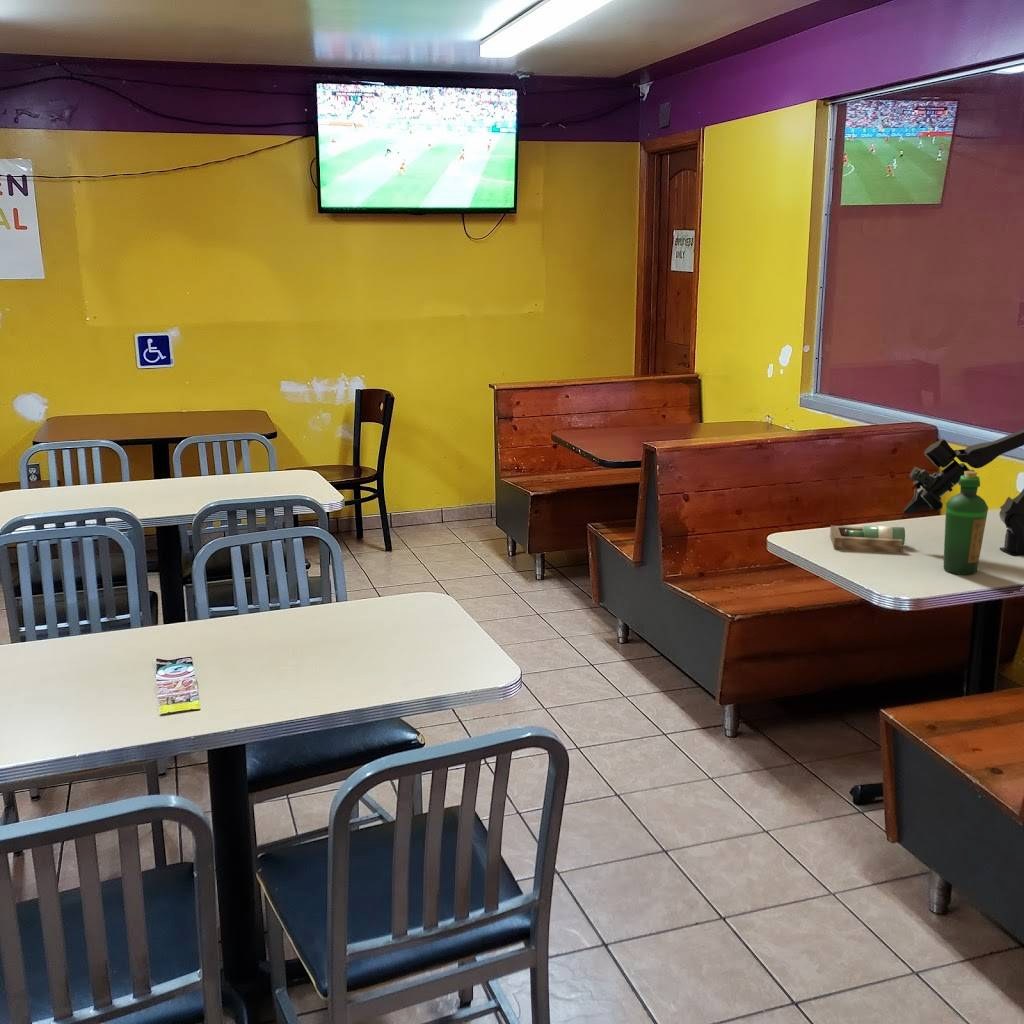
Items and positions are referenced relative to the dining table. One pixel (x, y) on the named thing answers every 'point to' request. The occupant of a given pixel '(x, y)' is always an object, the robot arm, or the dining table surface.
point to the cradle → (862, 541)
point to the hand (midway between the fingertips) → (904, 513)
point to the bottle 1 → (878, 532)
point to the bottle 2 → (964, 527)
